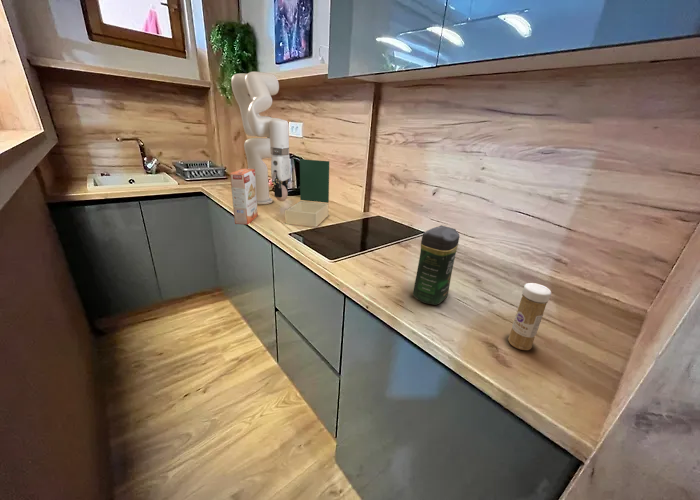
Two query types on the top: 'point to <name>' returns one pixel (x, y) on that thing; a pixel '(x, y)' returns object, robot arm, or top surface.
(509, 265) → the top surface
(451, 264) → the coffee jar
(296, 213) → the book box
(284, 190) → the egg
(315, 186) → the book cover
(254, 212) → the cracker box
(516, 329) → the sprinkles bottle
